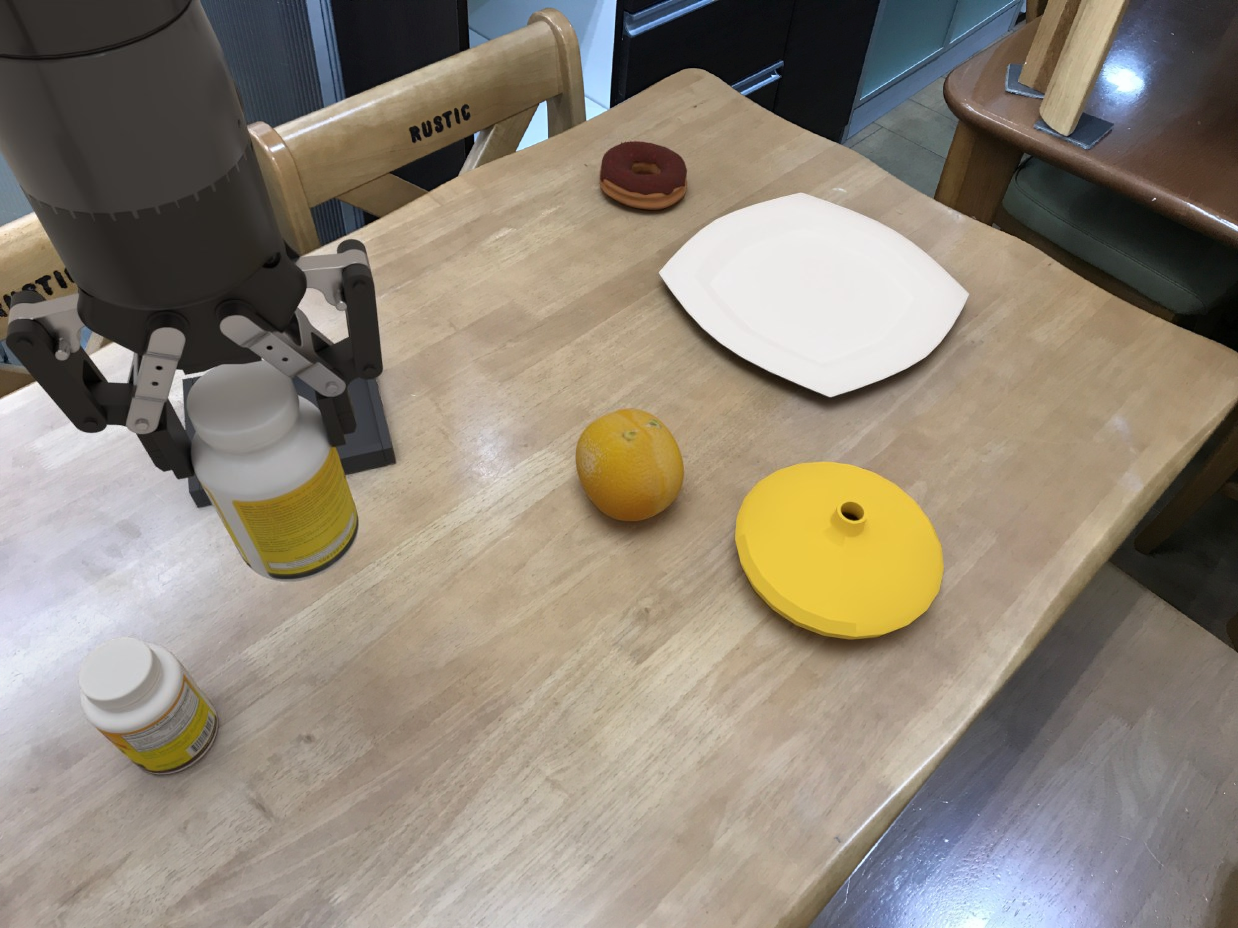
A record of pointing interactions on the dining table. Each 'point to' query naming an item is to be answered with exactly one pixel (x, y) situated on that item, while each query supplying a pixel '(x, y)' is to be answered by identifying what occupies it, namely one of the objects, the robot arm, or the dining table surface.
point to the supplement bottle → (146, 704)
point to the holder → (362, 446)
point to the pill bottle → (271, 471)
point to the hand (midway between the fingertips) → (263, 448)
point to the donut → (643, 175)
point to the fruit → (629, 464)
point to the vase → (838, 550)
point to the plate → (815, 293)
